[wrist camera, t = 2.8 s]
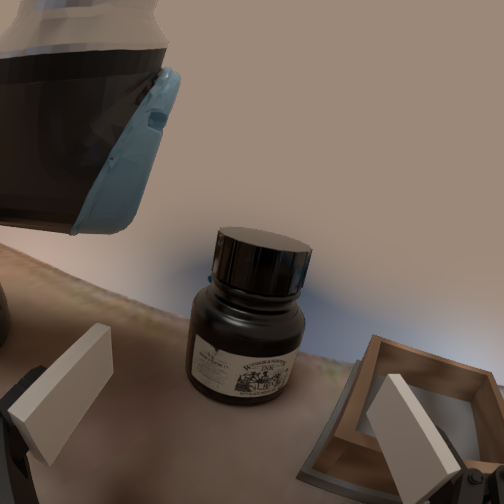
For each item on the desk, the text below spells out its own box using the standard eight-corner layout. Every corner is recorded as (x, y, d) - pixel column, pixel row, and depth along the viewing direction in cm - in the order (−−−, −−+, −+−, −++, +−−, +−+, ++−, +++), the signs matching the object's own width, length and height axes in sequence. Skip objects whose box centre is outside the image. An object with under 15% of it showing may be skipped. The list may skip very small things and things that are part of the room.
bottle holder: (295, 477, 12) (322, 438, 11) (353, 366, 26) (368, 330, 25) (486, 516, 5) (529, 478, 4) (473, 404, 18) (493, 371, 17)
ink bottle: (185, 409, 17) (206, 244, 14) (176, 342, 25) (192, 217, 22) (306, 401, 20) (356, 264, 17) (269, 345, 28) (298, 234, 25)
